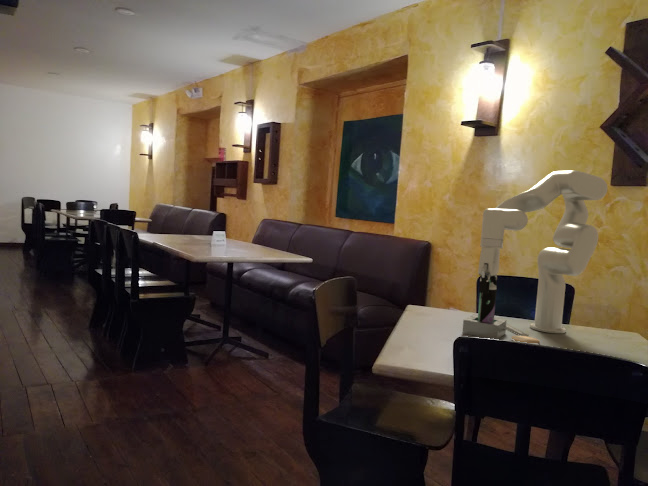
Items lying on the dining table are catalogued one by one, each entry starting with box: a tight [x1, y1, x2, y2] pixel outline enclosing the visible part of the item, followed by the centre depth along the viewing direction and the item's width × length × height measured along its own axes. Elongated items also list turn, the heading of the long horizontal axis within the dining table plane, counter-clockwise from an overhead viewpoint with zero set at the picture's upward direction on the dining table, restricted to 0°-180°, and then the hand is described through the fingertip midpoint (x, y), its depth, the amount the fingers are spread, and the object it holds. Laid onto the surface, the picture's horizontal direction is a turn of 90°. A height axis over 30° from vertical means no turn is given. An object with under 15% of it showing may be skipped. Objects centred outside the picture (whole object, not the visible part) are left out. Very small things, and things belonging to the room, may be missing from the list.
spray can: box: [477, 279, 497, 323], centre depth 180 cm, size 6×6×20 cm
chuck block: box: [462, 314, 508, 340], centre depth 180 cm, size 12×12×5 cm
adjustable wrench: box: [496, 318, 530, 337], centre depth 190 cm, size 25×6×2 cm, turn 4°
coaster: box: [511, 335, 541, 344], centre depth 173 cm, size 9×9×1 cm
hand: (487, 291), depth 179 cm, fingers open, 9 cm apart
